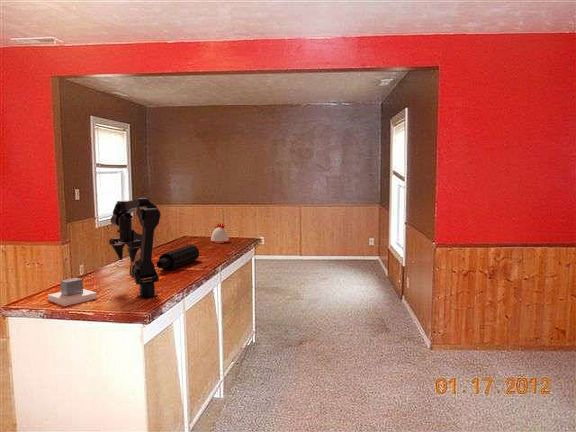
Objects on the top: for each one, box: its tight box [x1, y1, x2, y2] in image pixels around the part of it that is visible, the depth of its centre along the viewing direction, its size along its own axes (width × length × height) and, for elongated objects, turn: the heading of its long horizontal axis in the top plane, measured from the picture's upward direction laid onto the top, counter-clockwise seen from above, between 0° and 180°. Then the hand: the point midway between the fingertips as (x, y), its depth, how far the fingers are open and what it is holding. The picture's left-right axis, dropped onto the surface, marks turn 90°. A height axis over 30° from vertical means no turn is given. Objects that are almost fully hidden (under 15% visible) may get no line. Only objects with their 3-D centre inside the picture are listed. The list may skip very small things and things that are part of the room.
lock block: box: [60, 277, 84, 296], centre depth 192 cm, size 5×7×6 cm
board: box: [47, 288, 98, 307], centre depth 192 cm, size 14×14×2 cm
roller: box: [155, 244, 200, 272], centre depth 260 cm, size 38×10×10 cm, turn 164°
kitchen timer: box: [210, 222, 230, 242], centre depth 350 cm, size 14×14×15 cm
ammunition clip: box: [129, 249, 141, 276], centre depth 243 cm, size 11×2×12 cm, turn 169°
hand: (126, 260), depth 210 cm, fingers open, 9 cm apart
